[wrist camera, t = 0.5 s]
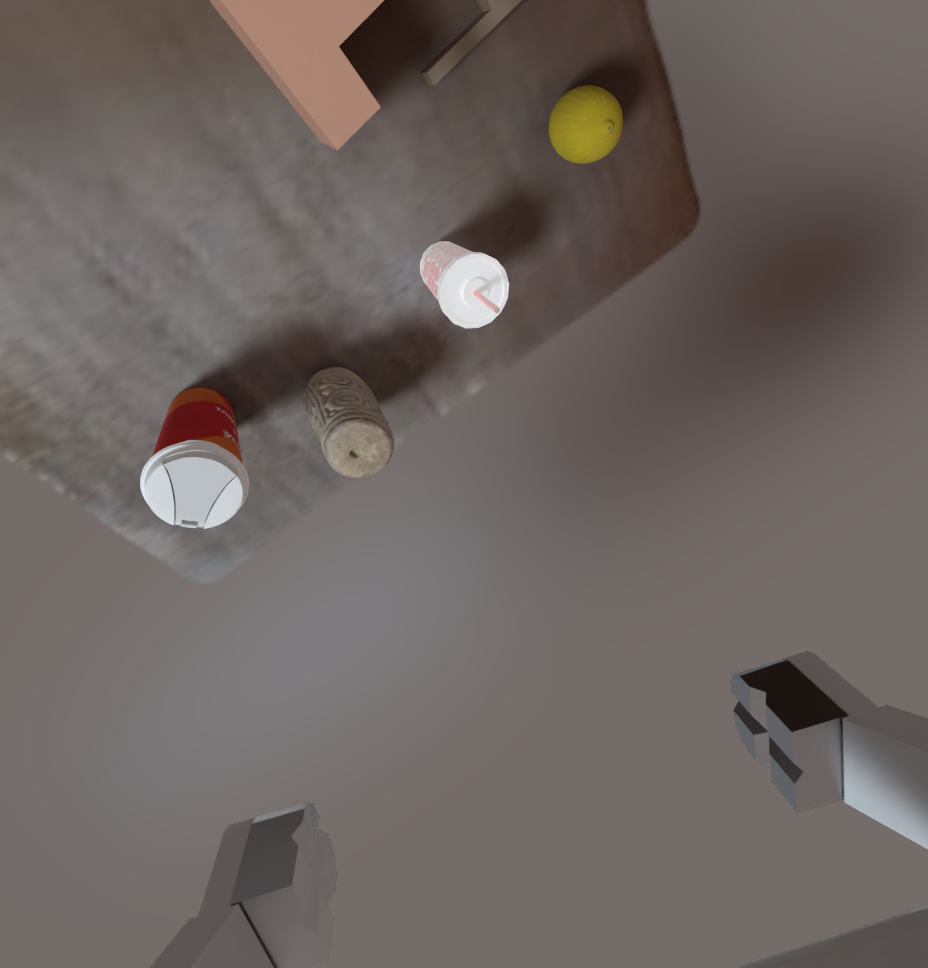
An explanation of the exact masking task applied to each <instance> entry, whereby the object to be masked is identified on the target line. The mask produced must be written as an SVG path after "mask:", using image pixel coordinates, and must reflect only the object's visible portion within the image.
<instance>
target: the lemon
mask: <svg viewBox="0 0 928 968" xmlns="http://www.w3.org/2000/svg"><path fill="white" fill-rule="evenodd" d="M622 127H623V115H622V110H621V107H620V105H619V103H618V101H617V100H616V98H615V97H614V96H613V95H612V94H611V93H609V92H608V91H606V90H605V89H603V88H600V87H596V86H592V85H586V86H579V87H576V88H574V89H572V90H570V91H568V92H567V93H566V94H564V95H563V96H562V97H561V98H560V99H559V101H558V102H557V103H556V105H555V106H554V108H553V110H552V113H551V116H550V120H549V136H550V140H551V142H552V145H553V147H554V149H555V150H556V151H557V153H558V154H559V155H561V156H562V157H563V158H565V159H566V160H568V161H571V162H574V163H590V162H594V161H597V160H599V159H601V158H603V157H604V156H606V155H607V154H608V153H609V152H610V151H611V150H612V149H613V148H614V147H615V145H616V144H617V142H618V140H619V137H620V135H621V132H622Z"/></svg>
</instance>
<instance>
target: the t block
mask: <svg viewBox="0 0 928 968" xmlns="http://www.w3.org/2000/svg"><path fill="white" fill-rule="evenodd" d="M209 1H210V2H211V3H212V5H213V6H214V7H215V8H216V10H217V11H218V12H219V13H220V15H221V16H222V17H223V19H224V20H225V21H226V22H227V24H228V25H229V26H230V27H231V29H232V30H233V31H234V32H235V34H236V35H237V36H238V38H239V39H240V40H241V41H242V43H243V44H244V45H245V46H246V48H247V49H248V50H249V51H250V53H251V54H252V55H253V57H254V58H255V59H256V60H257V62H258V63H259V64H260V65H261V67H262V68H263V69H264V70H265V72H266V73H267V74H268V76H269V77H270V78H271V79H272V81H273V82H274V83H275V84H276V86H277V87H278V88H279V89H280V91H281V92H282V93H283V95H284V96H285V97H286V98H287V100H288V101H289V102H290V103H291V105H292V106H293V107H294V108H295V110H296V111H297V112H298V114H299V115H300V116H301V117H302V119H303V120H304V121H305V122H306V124H307V125H308V126H309V127H310V129H311V130H312V131H313V133H314V134H315V135H316V136H317V138H318V139H319V140H320V141H321V142H322V143H324V144H326V145H328V146H330V147H332V148H334V149H336V150H338V149H339V148H340V147H341V146H342V145H343V144H344V143H345V142H346V141H347V140H348V139H349V138H350V137H351V136H352V135H353V134H354V133H355V132H356V131H357V130H358V129H359V128H360V127H361V126H362V125H363V124H364V123H365V122H366V121H368V120H369V119H370V118H371V117H372V116H373V115H374V114H375V113H376V112H377V111H378V110H379V109H380V108H381V107H380V105H379V104H378V102H377V101H376V99H375V98H374V97H373V95H372V94H371V92H370V91H369V89H368V88H367V86H366V85H365V84H364V82H363V81H362V79H361V78H360V76H359V75H358V73H357V72H356V71H355V69H354V68H353V66H352V65H351V63H350V62H349V60H348V59H347V58H346V56H345V55H344V53H343V52H342V50H341V49H340V47H339V46H340V45H341V44H342V43H343V42H344V41H345V40H346V39H347V38H348V37H349V36H350V35H351V34H352V33H353V32H354V30H355V29H356V28H357V27H358V26H359V25H360V24H361V23H362V22H363V21H364V20H365V19H366V18H367V17H368V16H369V15H370V14H371V13H372V12H373V11H374V10H375V9H376V8H377V7H378V6H379V5H380V4H381V3H382V2H383V1H384V0H209Z"/></svg>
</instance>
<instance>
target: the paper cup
mask: <svg viewBox="0 0 928 968" xmlns="http://www.w3.org/2000/svg"><path fill="white" fill-rule="evenodd" d="M140 486H141V491H142V494H143V497H144V499H145V500H146V502H147V504H148V505H149V506H150V508H151V509H152V511H153V512H154V513H155V514H156V515H157V516H158V517H159V518H161V519H162V520H164V521H165V522H167V523H169V524H171V525H174V523H175V524H177V525H181V527H190V528H197V527H203V526H204V529H206V528H211V527H214V526H217V525H219V524H221V523H223V522H225V521H227V520H228V519H230V518H231V517H232V516H233V515H234V514H235V513H236V512H237V511H238V509H239V508H240V507H241V506H242V505H243V503H244V501H245V500H246V498H247V495H248V491H249V478H248V474H247V471H246V469H245V467H244V466H243V464H242V458H241V452H240V445H239V439H238V433H237V427H236V421H235V416H234V412H233V409H232V406H231V404H230V403H229V401H228V400H227V399H226V398H225V397H224V396H223V395H222V394H221V393H219V392H217V391H215V390H213V389H209V388H204V387H195V388H190V389H187V390H185V391H183V392H181V393H180V394H178V395H177V396H176V397H175V399H174V400H173V402H172V403H171V405H170V408H169V410H168V413H167V415H166V418H165V421H164V424H163V427H162V430H161V432H160V435H159V438H158V441H157V444H156V447H155V450H154V453H153V456H152V457H151V458H150V459H149V461H148V462H147V463H146V465H145V467H144V469H143V471H142V474H141V480H140Z"/></svg>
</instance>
